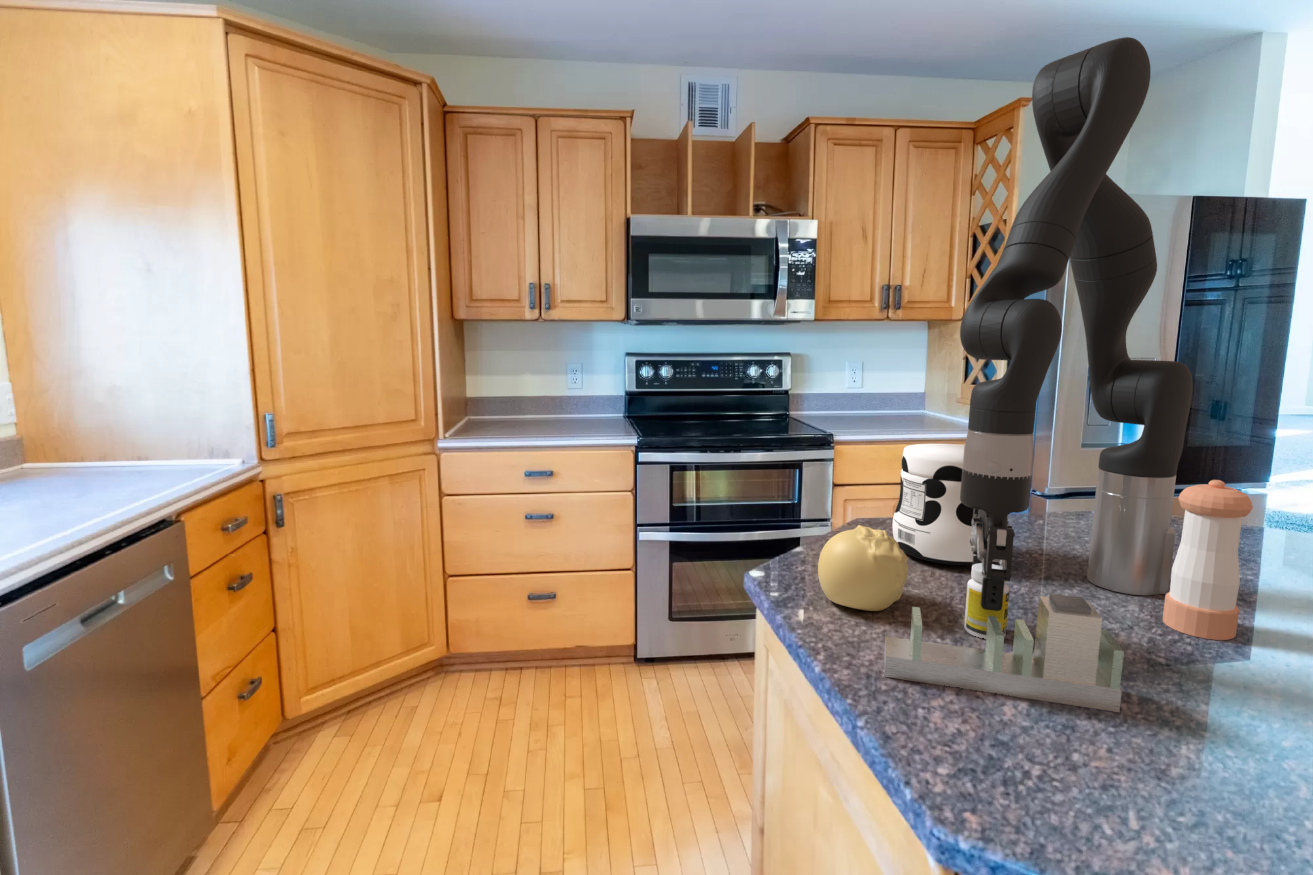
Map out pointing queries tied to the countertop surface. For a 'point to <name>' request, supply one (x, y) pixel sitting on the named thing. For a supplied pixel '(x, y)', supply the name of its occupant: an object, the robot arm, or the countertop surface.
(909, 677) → the desk organizer
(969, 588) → the supplement bottle
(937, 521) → the milk container
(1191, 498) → the salt shaker
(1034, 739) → the countertop surface
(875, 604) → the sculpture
